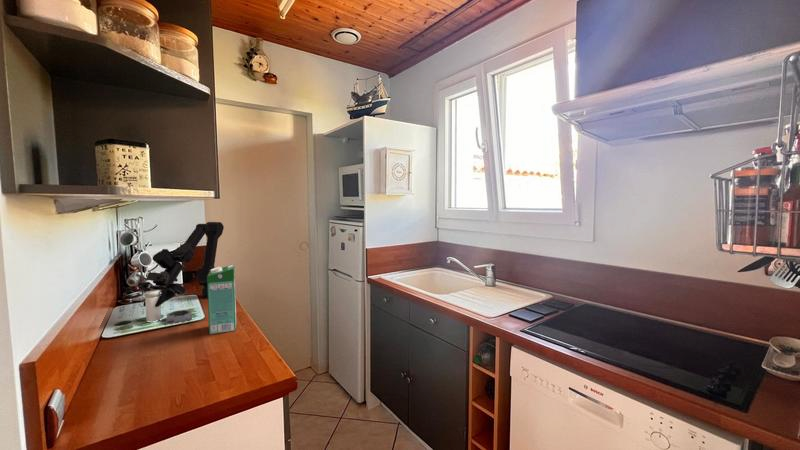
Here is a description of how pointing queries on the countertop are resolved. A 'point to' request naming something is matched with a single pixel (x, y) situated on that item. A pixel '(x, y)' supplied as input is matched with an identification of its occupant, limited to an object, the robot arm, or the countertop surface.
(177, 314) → the collar
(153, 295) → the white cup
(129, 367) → the countertop surface
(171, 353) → the countertop surface
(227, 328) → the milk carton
